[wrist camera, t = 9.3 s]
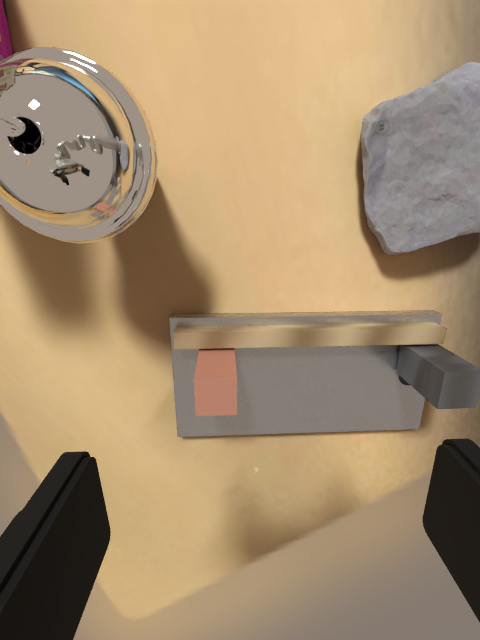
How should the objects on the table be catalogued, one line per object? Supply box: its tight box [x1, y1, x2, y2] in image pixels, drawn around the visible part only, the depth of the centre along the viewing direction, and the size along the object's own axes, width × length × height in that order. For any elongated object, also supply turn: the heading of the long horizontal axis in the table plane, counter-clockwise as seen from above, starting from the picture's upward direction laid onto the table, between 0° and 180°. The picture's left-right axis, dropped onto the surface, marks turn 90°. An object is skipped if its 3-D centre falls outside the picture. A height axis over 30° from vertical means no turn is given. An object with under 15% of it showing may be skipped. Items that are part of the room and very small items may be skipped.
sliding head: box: [194, 348, 237, 416], centre depth 26 cm, size 3×4×6 cm
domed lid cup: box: [0, 47, 158, 244], centre depth 16 cm, size 8×9×20 cm
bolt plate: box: [169, 310, 442, 437], centre depth 30 cm, size 24×12×1 cm, turn 90°
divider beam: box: [173, 323, 480, 409], centre depth 26 cm, size 23×6×6 cm, turn 90°
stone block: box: [360, 62, 480, 255], centre depth 25 cm, size 12×5×10 cm
